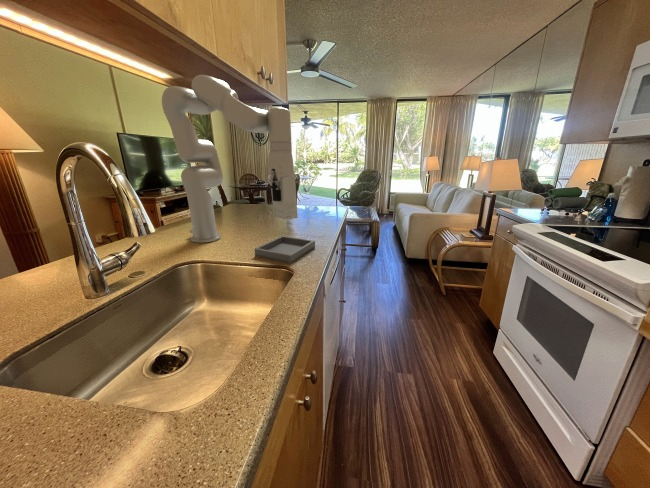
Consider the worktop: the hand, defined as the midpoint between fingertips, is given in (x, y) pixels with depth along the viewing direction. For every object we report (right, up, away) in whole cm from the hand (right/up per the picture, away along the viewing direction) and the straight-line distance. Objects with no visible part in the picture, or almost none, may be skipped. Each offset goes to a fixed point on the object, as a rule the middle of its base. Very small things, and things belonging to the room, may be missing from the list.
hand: (283, 198), depth 97 cm
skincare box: (0, -7, +2) cm, 7 cm away
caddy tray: (0, -20, +7) cm, 21 cm away
